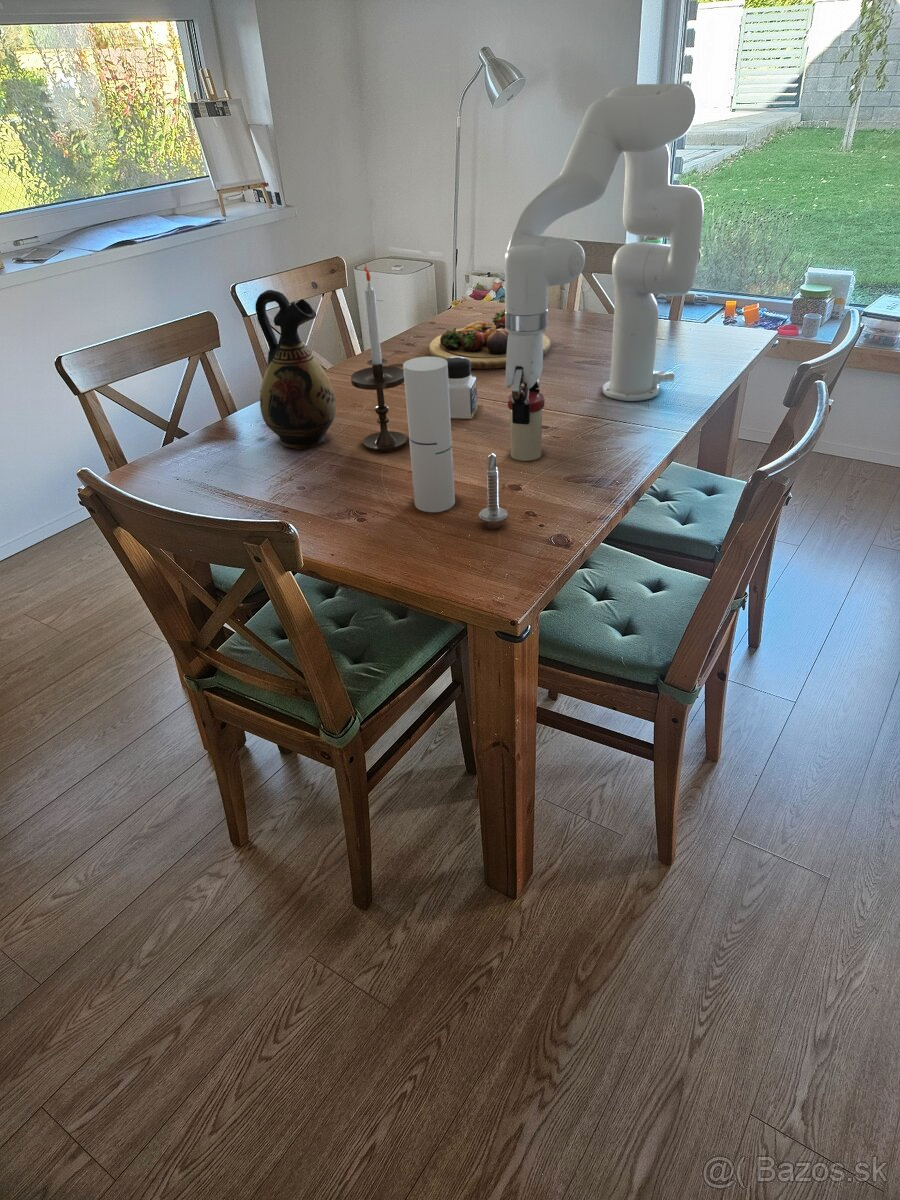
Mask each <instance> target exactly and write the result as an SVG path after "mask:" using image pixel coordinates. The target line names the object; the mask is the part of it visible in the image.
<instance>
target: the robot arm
mask: <svg viewBox="0 0 900 1200" xmlns="http://www.w3.org/2000/svg"><path fill="white" fill-rule="evenodd" d="M697 107H698V106H697V97H696V94H695V92H694V90H693V89H692V88H691V87H690V86H689V85H688V84H685V83H642V84H641V83H639V84H626V85H625V84H624V85H620V86H617V87H615V88H613V89H611V90H610V91H609V92H608V94H607V95H606V97H601V98H598V99H596V100H595V101H593V102H592V103H591V104H590V105H589V106H588V107H587V109H586V111H585V113H584V116H583V118H582V121H581V122H580V125H579V127H578V130H577V133H576V135H575V138H574V140H573V142H572V145H571V147H570V150H569V152H568V155H567V157H566V160H565V162H564V165H563V167H562V170H561V172H560V173H559V175H558V176H557V177H556V178H555V179H554V180H552V181H551V182H550V183H548V184H547V185H546V186H544V188H543V189H542V190H540V191H539V192H538V193H537V194H536V195H535V196H534V197H533V198H532V199H531V200H529V202H528V203H527V205H525V207H524V208H523V210H522V212H521V213H520V215H519V217H518V218H517V221H516V224H515V226H514V229H513V231H512V233H511V237H510V239H509V242H508V245H507V248H506V249H507V250H506V252H505V253H504V309H505V330H506V331H507V332H508V333H509V334H508V342H507V356H506V367H505V387H506V388H508V389H510V388H511V394H512V397H513V398H512V422H513V423H514V424H526V425H528V424H529V423H530V403H528V398H529V391H533V392H538V393H541V392H540V391H541V389H540V385H541V384H540V377H541V375H542V374H543V367H544V356H543V334H544V332H547V330H548V306H549V305H548V304H549V302H548V301H549V300H548V299H549V298H548V297H549V288H550V287H553V286H554V287H555V286H563V285H567V284H570V283H572V282H574V281H575V280H576V279H577V278H578V277H579V276H581V274H582V272H583V270H584V267H585V263H586V254H585V251H584V248H583V247H582V245H581V244H580V243H578V242H577V241H575V240H574V239H570V238H565V237H554V236H549V235H548V236H547V235H543V234H544V233H545V231H546V230H547V229H548V228H549V227H550V226H551V225H552V224H553V223H555V222H556V221H557V220H559V219H560V218H562V217H565V216H566V215H568V214H571V213H574V212H576V211H579V210H581V209H582V208H585V207H588V206H590V205H592V204H594V203H596V202H598V201H599V200H600V199H602V197H603V196H604V194H605V192H606V189H607V188H608V184H609V183H610V180H611V177H612V174H613V172H614V170H615V167H616V165H617V163H618V160H619V159H620V156H621V154H624V161H625V162H624V163H625V172H624V188H623V189H624V190H623V205H622V206H623V207H622V222H623V227H624V229H625V231H626V232H628V233H629V234H631V235H635V236H639V237H647V238H660V239H668V240H669V244H664V243H663V244H662V243H655V242H646V241H645V242H643V241H633V242H629V243H626V244H624V245H622V246H620V247H619V248H618V249H617V250H616V252H615V254H614V256H613V259H612V262H611V263H612V264H611V273H612V274H611V277H612V283H613V293H614V295H613V296H614V305H613V307H614V309H613V327H612V328H613V329H612V342H611V343H612V345H611V359H610V377H609V380H608V381H607V382H605V383H604V384H603V385H602V394H604V395H605V396H606V397H608V398H610V399H613V400H617V401H624V402H638V401H639V402H640V401H645V400H649V399H653V398H655V397H657V396H658V395H659V393H660V386H659V385H660V384H661V383H668V382H673V381H674V380H675V373H674V372H665V371H664V370H658V371H656V370H655V366H656V365H655V363H656V353H657V341H658V332H659V331H658V330H659V322H660V321H659V319H660V311H659V310H660V309H659V306H658V302H657V300H656V297H655V295H661V296H667V297H668V296H669V297H681V296H685V295H686V294H688V293H689V292H690V291H691V290H692V288H693V286H694V284H695V281H696V278H697V274H698V268H699V267H698V266H699V260H700V259H699V258H700V250H701V241H702V232H703V224H704V213H705V212H704V211H705V209H704V208H705V207H704V202H703V197H702V194H701V193H700V191H698V189H696V188H695V187H692V186H688V185H678V184H676V185H675V184H670V167H671V153H670V149H669V146H668V145H671V143H674V142H676V141H678V140H679V139H682V138H683V137H684V136H685V135H686V134H687V133H688V132H689V131H690V130H691V127H692V125H693V123H694V121H695V118H696V114H697ZM522 384H523V385H522ZM521 391H525V395H523V393H521Z"/></svg>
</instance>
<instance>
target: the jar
mask: <svg viewBox="0 0 900 1200" xmlns="http://www.w3.org/2000/svg"><path fill="white" fill-rule="evenodd" d="M509 419H510V420H509V422H510V423H509V425H510V426H509V427H510V435H509V437H510V439H509V440H510V457H511V458H512V459H513V460H516V461H519V462H531V461H535V460H537V459H539V458H541V457H542V443H543V442H542V441H543V440H542V439H543V437H542V435H543V433H542V432H543V431H542V429H543V408H542V409H541V410H539V411H536V412H530V423H529V424H528V425H526V424H514V423H513V422H512V410H510V409H509Z"/></svg>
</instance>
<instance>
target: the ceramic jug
mask: <svg viewBox="0 0 900 1200" xmlns="http://www.w3.org/2000/svg"><path fill="white" fill-rule="evenodd" d="M273 302H275V303H276V304H277V305H278V307H279V310H278V311H277V312H276V314H275V315H274V317H273V323H274V326H276V327H279V328H280V335H279V339H277V337H276V335H275V332H274V330H273V328H272V325H271V322H270V319H269V316H268V314H267V307H266V306H267V304H269V303H273ZM254 309H255V313H256V318H257V322H258V325H259V327H260V330H261V332H262V334H263V336H264V339H265V341H266V342H267V345H268V349H269V350H268V354H267V365H266V366H267V368H266V369H265V372H264V375H263V378H262V380H261V385H260V390H259V407H260V413H261V416H262V419H263V421H264V423H265V425H266V427H267V428H268V429H270V430H271V431H272V432H273V433H274V434H275V435H276V436H278V437H279V441H278V442H279V443H280V444H281V445H283V446H284V447H286V448H290V449H295V450H306V449H309V448H314V447H317V446H320V445H322V444H324V443H325V440H326V437H325V436H326V433H327V431H328V430H329V428H330V427H331V425H332V424H333V422H334V419H335V417H336V416H335V415H336V411H337V403H336V395H335V392H334V390H333V387H332V384H331V381H330V379H329V377H328V375H327V372H326V371H325V369H324V368H323V367H322V365H321V364H320V362H319V361H318V360H317V358H316V357H315V356H314V354H313V353H312V352H311V350H309V349H308V347H307V346H306V345H305V344H304V343H303V340H302V339H301V338H300V335H299V333H298V329H299V327H300V326H302V325H303V324H305V323H307V322H310V321H313V320H314V319H316V318H317V312H316V310H314V309H313V307H312V305H311V304H310V303H309V302H308V301H306V300H305V299H303V298H302V299H299V300H298V301H296V302H295V301H292V302H291V303H290V301H289V300H288V298H287V296H286V295H285V294H284V293H283V292H280V291H277V290H274V289H268V290H265V291H263V292H261V293H260V294H259V295H258V296H257V298H256V301H255V308H254Z"/></svg>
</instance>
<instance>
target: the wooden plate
mask: <svg viewBox="0 0 900 1200" xmlns="http://www.w3.org/2000/svg"><path fill="white" fill-rule="evenodd" d="M491 320H492V323H490V322H486V321H482V320H477V321H473V322H472V323H470V324H468V325H465V327H463V328H457V327H455V328H453V329H452V330H449V329H447V330H446V331H444V332H443V333H441V334H439V335H437V336H436V337H435V338H434V339H432V341H431V342H430V344H429V346H428V350H429V354H430V356H431V357H439V358H443V359H445V360H446V359H448V358H450V357H457V356H459V357H465V358H467V359H469V360H470V361H471V369H481V370H482V369H483V370H485V369H486V370H487V369H502V368H506V356H507V342H508V334H509V333H508V332H507V331H506V330H505V308H504V309H501V310H500V313H499V312H497V311H496V313H495V314H494V316H493V317H492V318H491ZM550 349H551V340H550V338H549V337H548V336H547V335H546V334H545V333H543V357H544V356H545V355H546V354H547V353H548V352H549V351H550Z"/></svg>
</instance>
